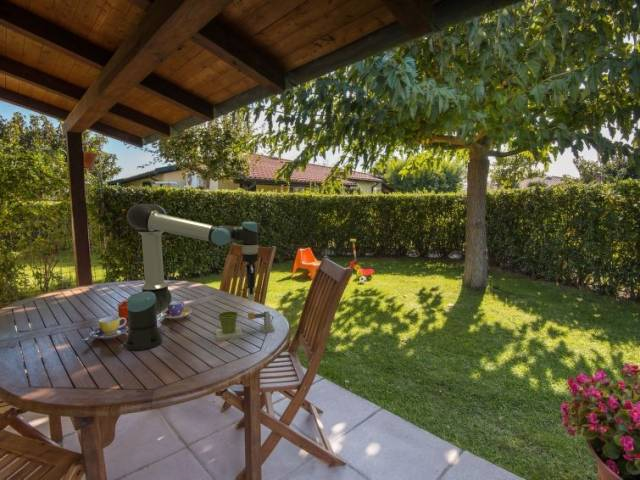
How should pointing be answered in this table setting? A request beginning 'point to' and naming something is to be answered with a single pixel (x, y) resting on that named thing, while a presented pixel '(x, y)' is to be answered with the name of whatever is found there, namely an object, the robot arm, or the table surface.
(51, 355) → the table surface
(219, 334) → the plate
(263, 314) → the press lever
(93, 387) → the table surface
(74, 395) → the table surface
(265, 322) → the lever stand
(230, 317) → the plant pot
